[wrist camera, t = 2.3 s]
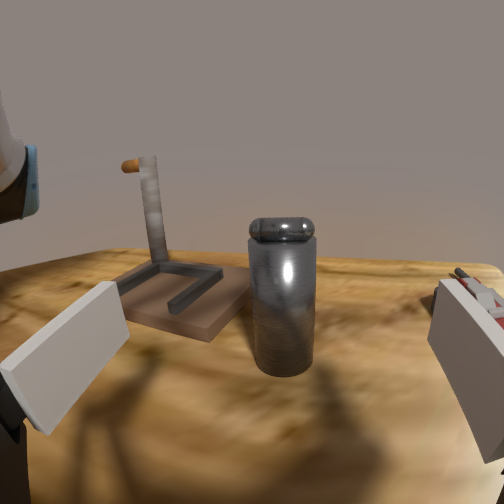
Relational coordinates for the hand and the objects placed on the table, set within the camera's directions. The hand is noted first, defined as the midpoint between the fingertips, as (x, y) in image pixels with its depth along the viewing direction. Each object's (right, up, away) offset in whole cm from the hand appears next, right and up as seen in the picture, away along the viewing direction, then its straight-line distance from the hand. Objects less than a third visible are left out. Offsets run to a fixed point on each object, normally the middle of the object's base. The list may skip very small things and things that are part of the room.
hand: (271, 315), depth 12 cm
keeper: (-10, -3, +25) cm, 27 cm away
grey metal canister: (+2, -6, +13) cm, 14 cm away
